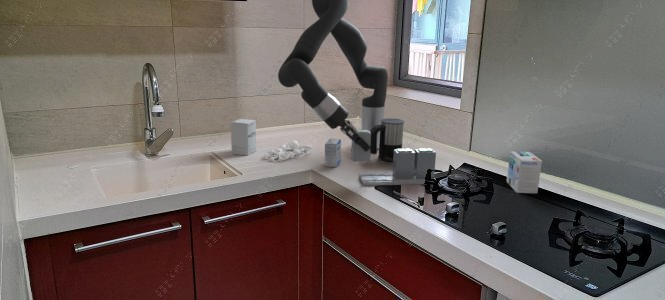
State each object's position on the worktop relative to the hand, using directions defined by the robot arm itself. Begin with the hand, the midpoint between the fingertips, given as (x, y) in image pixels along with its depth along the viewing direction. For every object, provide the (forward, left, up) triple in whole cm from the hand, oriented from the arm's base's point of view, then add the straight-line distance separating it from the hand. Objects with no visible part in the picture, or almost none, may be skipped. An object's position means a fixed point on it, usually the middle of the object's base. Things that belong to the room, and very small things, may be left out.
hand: (366, 147), depth 154 cm
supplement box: (-37, -42, -12) cm, 57 cm away
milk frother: (-22, +15, -12) cm, 29 cm away
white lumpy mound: (-31, -24, -12) cm, 41 cm away
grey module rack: (0, +10, -12) cm, 16 cm away
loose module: (0, -2, -4) cm, 5 cm away
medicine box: (-20, -9, -12) cm, 25 cm away
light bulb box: (+9, +49, -12) cm, 52 cm away
